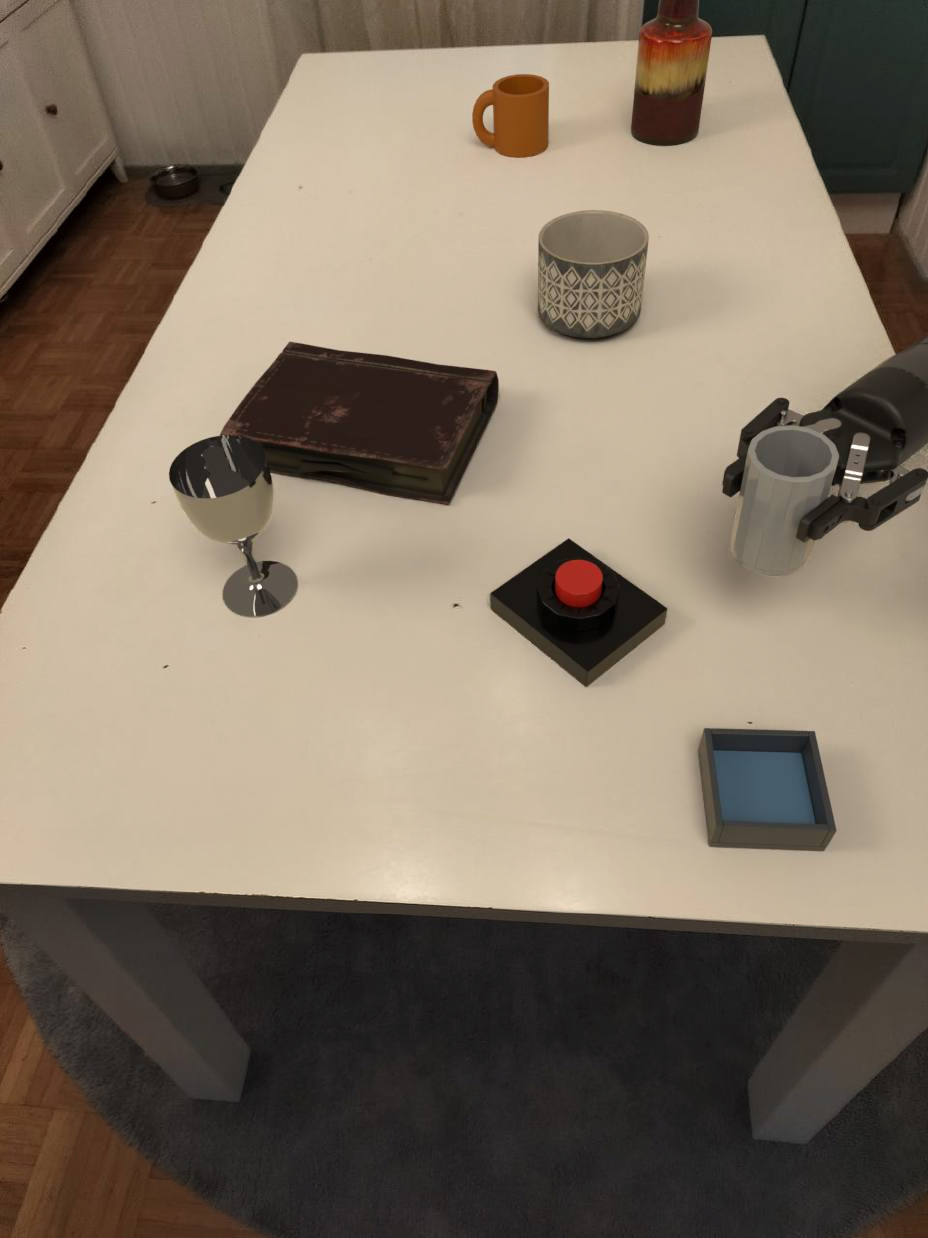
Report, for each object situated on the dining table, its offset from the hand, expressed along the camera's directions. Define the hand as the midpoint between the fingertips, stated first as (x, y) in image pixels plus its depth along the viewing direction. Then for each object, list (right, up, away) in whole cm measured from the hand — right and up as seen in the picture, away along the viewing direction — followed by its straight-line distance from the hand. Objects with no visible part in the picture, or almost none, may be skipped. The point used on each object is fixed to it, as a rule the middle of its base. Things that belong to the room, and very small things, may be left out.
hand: (763, 508), depth 66 cm
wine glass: (-42, -5, +17) cm, 46 cm away
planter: (-7, +29, +44) cm, 53 cm away
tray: (0, -22, +1) cm, 22 cm away
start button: (-13, -6, +10) cm, 17 cm away
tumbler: (+2, -3, +5) cm, 6 cm away
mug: (-15, +69, +77) cm, 104 cm away
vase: (+10, +71, +77) cm, 105 cm away
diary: (-33, +12, +31) cm, 47 cm away
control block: (-12, -8, +13) cm, 20 cm away
